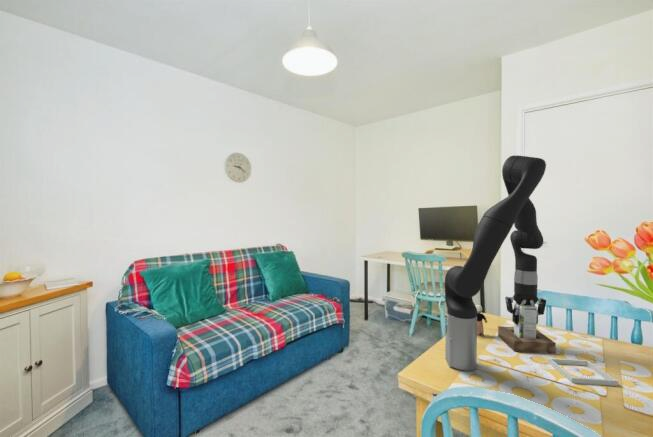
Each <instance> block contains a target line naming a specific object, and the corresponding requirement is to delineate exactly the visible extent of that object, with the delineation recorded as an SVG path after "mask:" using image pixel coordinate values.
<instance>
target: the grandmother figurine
mask: <svg viewBox="0 0 653 437" xmlns="http://www.w3.org/2000/svg"><path fill="white" fill-rule="evenodd" d="M475 306H476V308H477V337H480V336H482V337H484V336H485V334H484V323H485V324H488V320H487V318H486V316H485V314H483V313H482V311H483V307H482V305H480V304H475ZM483 322H484V323H483Z"/></svg>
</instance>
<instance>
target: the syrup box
mask: <svg viewBox="0 0 653 437" xmlns="http://www.w3.org/2000/svg"><path fill="white" fill-rule="evenodd" d="M515 303H516V302H515V301H514V304H515ZM535 306H536V305H535ZM535 306H531V305H524V306H520V310H519V314H518V316H519V320H518V325H516V324H515V323H514V322H513V327H514V334H515V335H516V336H517V337H518V338H530V339H536V329H537V325H538V324H537V309H538V306H536V307H535ZM517 307H519V305H518V304H517Z"/></svg>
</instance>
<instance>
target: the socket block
mask: <svg viewBox="0 0 653 437" xmlns="http://www.w3.org/2000/svg"><path fill="white" fill-rule="evenodd" d="M497 336H498V338H500V339H501V340H502V341H503V342H504V343H505V344H506V345H507V346H508V347H509V348H510V349H511V350H512V351H513V352H515V353H517V352H518V353H530V354H531V353H532V354H533V353H534V354H548V355H550V354H551V355H556V352H557V351H556V346H557V345H556V342H555V341H553V340H552V339H551V338H549V337H548V336H547V335H545V334H544V333H542V332H540V331H539V330H538V329H537V328H536V339H530V338H518V337H517V336H516V335H515V334H514V326H500V325H499V326H497Z"/></svg>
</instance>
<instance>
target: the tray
mask: <svg viewBox="0 0 653 437" xmlns="http://www.w3.org/2000/svg"><path fill="white" fill-rule="evenodd" d="M547 363H548V364H549V365H551V366H552V367H553V369H555V370H556V371H557V372H559V373H560V374H561V375H562V376H563V377H564V378H566V379H567V380H568V381H569V382H570V383H571V384H580V385H583V384H584V385H595V386H596V385H597V386H599V385H600V386H612V387H618V386H619V380H617V379H616V378H614V377H613V376H611V375H609V373H607V372H606V371H604V370H602V369H601V368H599V367H598V366H597V365H595V364H594V363H592V362H591V361H589V360H587V359H570V358H556V357H555V358H554V357H548V358H547ZM561 365H569V366H570V365H571V366H585V367H586V366H587V367H588V368H590V369H591V370H592V371H593V372H595V373H597V375H600V376H601V377H602V378H595V377H594V378H593V377H578V376H573V375H571V374H570V373H569V372H567V370H565V369H564V368H563V367H561Z"/></svg>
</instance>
